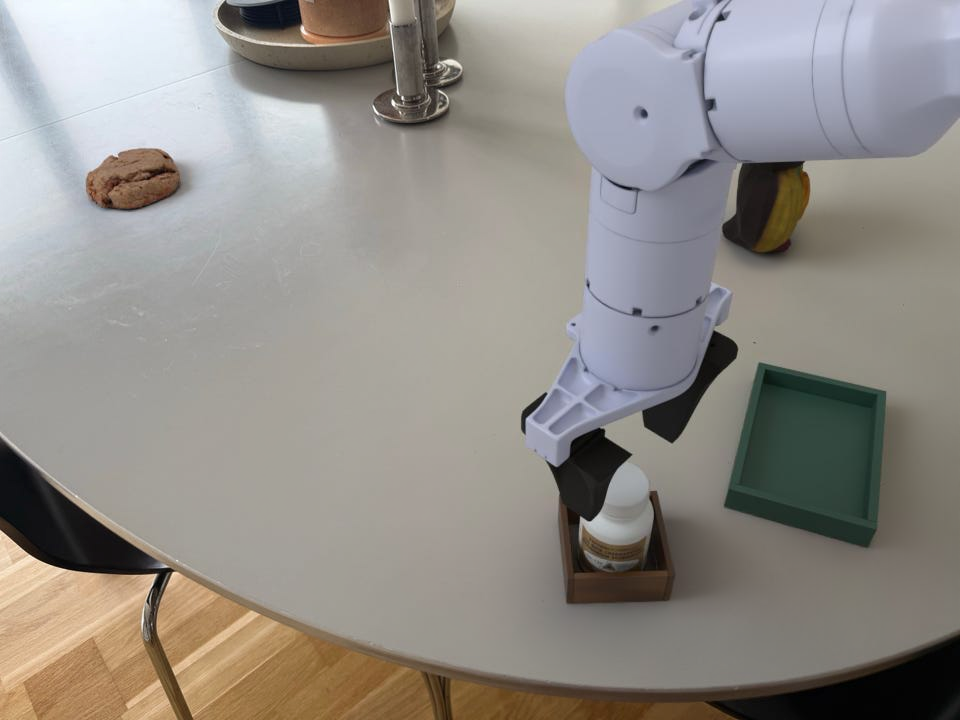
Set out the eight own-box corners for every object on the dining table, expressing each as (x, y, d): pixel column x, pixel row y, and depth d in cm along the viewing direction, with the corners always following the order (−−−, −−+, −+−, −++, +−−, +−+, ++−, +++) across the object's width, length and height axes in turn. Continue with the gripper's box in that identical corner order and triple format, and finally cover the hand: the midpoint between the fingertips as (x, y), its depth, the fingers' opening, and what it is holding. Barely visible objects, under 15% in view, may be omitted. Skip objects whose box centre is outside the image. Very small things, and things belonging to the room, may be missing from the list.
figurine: (795, 276, 74) (838, 122, 64) (716, 266, 75) (746, 113, 65) (795, 218, 81) (835, 71, 71) (723, 210, 82) (751, 64, 72)
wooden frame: (652, 516, 55) (657, 490, 53) (669, 601, 50) (675, 575, 49) (557, 519, 55) (559, 493, 53) (566, 603, 51) (567, 578, 49)
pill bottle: (574, 583, 52) (580, 508, 46) (579, 526, 55) (585, 450, 49) (644, 592, 51) (658, 517, 46) (646, 534, 54) (659, 457, 49)
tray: (868, 548, 53) (877, 529, 51) (723, 506, 55) (728, 488, 54) (878, 409, 62) (886, 390, 60) (753, 380, 64) (758, 361, 63)
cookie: (184, 157, 95) (177, 133, 92) (180, 204, 87) (172, 179, 85) (95, 169, 93) (85, 145, 91) (83, 218, 85) (72, 193, 83)
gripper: (666, 187, 43) (640, 372, 53) (474, 316, 36) (484, 505, 45) (787, 237, 40) (737, 426, 49) (601, 393, 32) (583, 581, 41)
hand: (622, 469), depth 47 cm, fingers open, 7 cm apart
